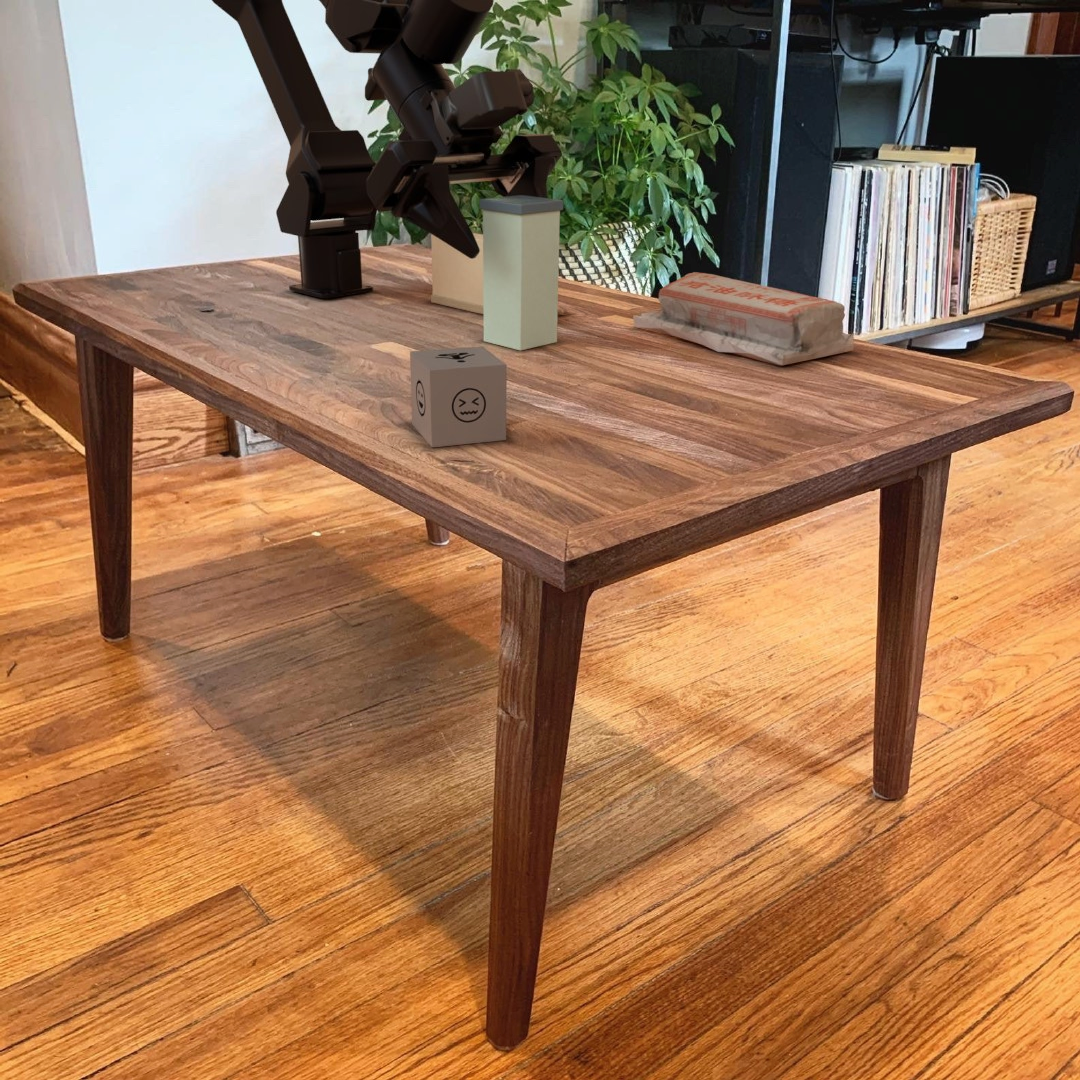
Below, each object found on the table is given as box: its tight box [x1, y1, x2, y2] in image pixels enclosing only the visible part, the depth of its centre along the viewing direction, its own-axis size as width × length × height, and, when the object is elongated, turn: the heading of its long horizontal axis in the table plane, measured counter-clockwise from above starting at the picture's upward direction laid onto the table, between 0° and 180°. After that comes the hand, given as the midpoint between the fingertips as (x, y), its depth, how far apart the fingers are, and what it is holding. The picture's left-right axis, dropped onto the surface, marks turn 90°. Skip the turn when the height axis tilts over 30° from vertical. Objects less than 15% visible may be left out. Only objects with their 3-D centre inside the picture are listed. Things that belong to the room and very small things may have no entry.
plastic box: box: [479, 195, 564, 351], centre depth 92 cm, size 5×5×12 cm
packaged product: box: [632, 271, 855, 366], centre depth 95 cm, size 18×5×10 cm
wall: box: [430, 232, 484, 315], centre depth 106 cm, size 13×5×7 cm, turn 46°
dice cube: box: [409, 346, 508, 448], centre depth 70 cm, size 5×5×5 cm
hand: (515, 249), depth 92 cm, fingers open, 9 cm apart
